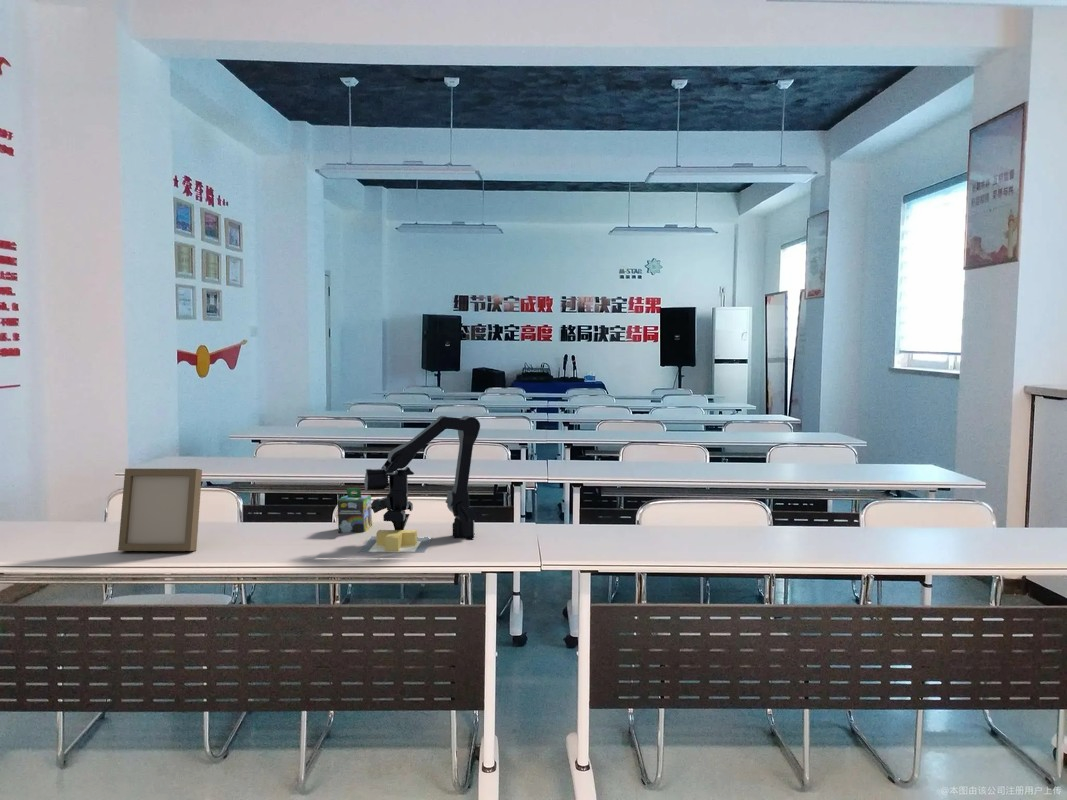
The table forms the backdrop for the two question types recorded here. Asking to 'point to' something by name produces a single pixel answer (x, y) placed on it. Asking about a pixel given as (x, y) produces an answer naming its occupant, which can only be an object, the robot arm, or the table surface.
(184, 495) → the photo frame
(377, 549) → the mat
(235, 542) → the table surface
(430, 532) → the table surface
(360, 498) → the chalk box
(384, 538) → the T block
